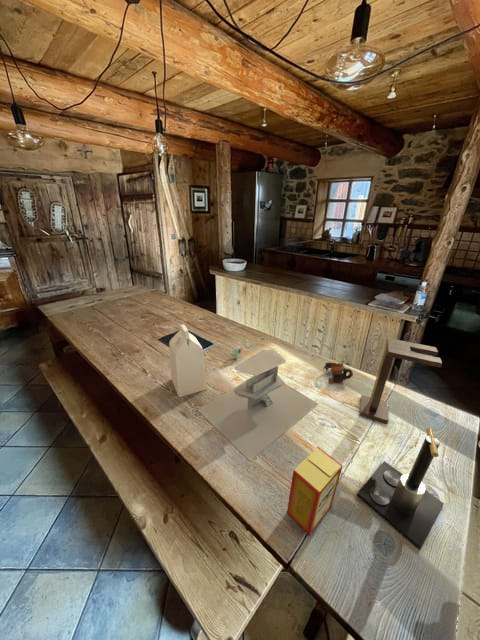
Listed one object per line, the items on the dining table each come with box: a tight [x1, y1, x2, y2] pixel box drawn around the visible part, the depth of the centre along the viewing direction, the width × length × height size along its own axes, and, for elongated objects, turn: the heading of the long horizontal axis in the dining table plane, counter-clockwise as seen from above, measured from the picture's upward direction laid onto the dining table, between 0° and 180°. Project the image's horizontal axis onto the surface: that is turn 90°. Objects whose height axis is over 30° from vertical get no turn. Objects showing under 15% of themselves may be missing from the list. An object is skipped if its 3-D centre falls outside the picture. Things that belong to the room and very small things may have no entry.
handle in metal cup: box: [392, 427, 441, 515], centre depth 62 cm, size 5×7×23 cm
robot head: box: [229, 345, 242, 360], centre depth 125 cm, size 8×4×7 cm, turn 154°
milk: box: [168, 323, 208, 398], centre depth 103 cm, size 12×12×26 cm
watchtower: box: [196, 349, 319, 462], centre depth 94 cm, size 36×28×20 cm
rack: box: [359, 337, 443, 425], centre depth 90 cm, size 17×10×28 cm, turn 65°
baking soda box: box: [286, 446, 343, 536], centre depth 63 cm, size 10×6×16 cm
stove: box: [356, 460, 444, 550], centre depth 68 cm, size 15×15×1 cm
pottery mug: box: [322, 362, 354, 385], centre depth 113 cm, size 12×10×8 cm
